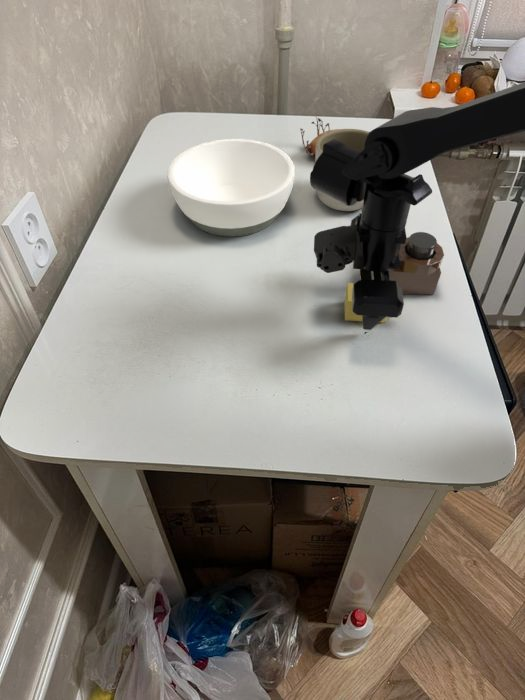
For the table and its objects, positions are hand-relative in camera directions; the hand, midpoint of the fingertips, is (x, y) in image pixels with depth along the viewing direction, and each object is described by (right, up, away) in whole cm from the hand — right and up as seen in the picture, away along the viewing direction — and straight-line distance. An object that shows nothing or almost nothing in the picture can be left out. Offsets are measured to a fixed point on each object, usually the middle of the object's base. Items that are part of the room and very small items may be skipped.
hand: (365, 306), depth 75 cm
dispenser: (+8, +5, +6) cm, 11 cm away
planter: (0, +22, +21) cm, 31 cm away
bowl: (-21, +20, +19) cm, 35 cm away
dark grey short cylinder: (+8, +8, +1) cm, 12 cm away
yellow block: (0, -1, +1) cm, 1 cm away
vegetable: (+1, +36, +33) cm, 48 cm away
